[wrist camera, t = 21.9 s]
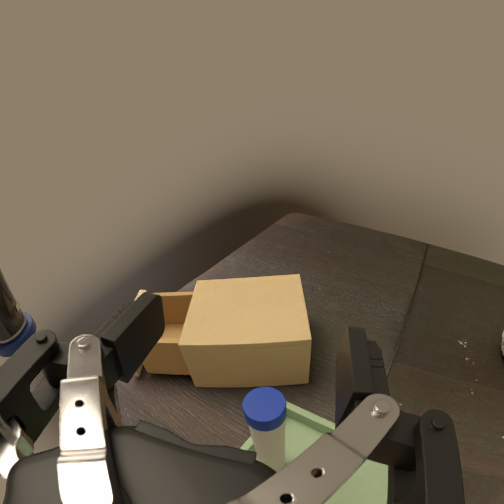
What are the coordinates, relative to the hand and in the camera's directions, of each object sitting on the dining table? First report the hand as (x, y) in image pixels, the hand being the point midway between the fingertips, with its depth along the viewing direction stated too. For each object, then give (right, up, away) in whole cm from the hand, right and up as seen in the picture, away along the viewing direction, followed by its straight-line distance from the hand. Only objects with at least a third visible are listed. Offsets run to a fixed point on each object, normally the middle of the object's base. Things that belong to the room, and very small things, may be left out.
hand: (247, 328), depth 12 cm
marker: (+2, -19, +12) cm, 22 cm away
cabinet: (0, -11, +27) cm, 29 cm away
